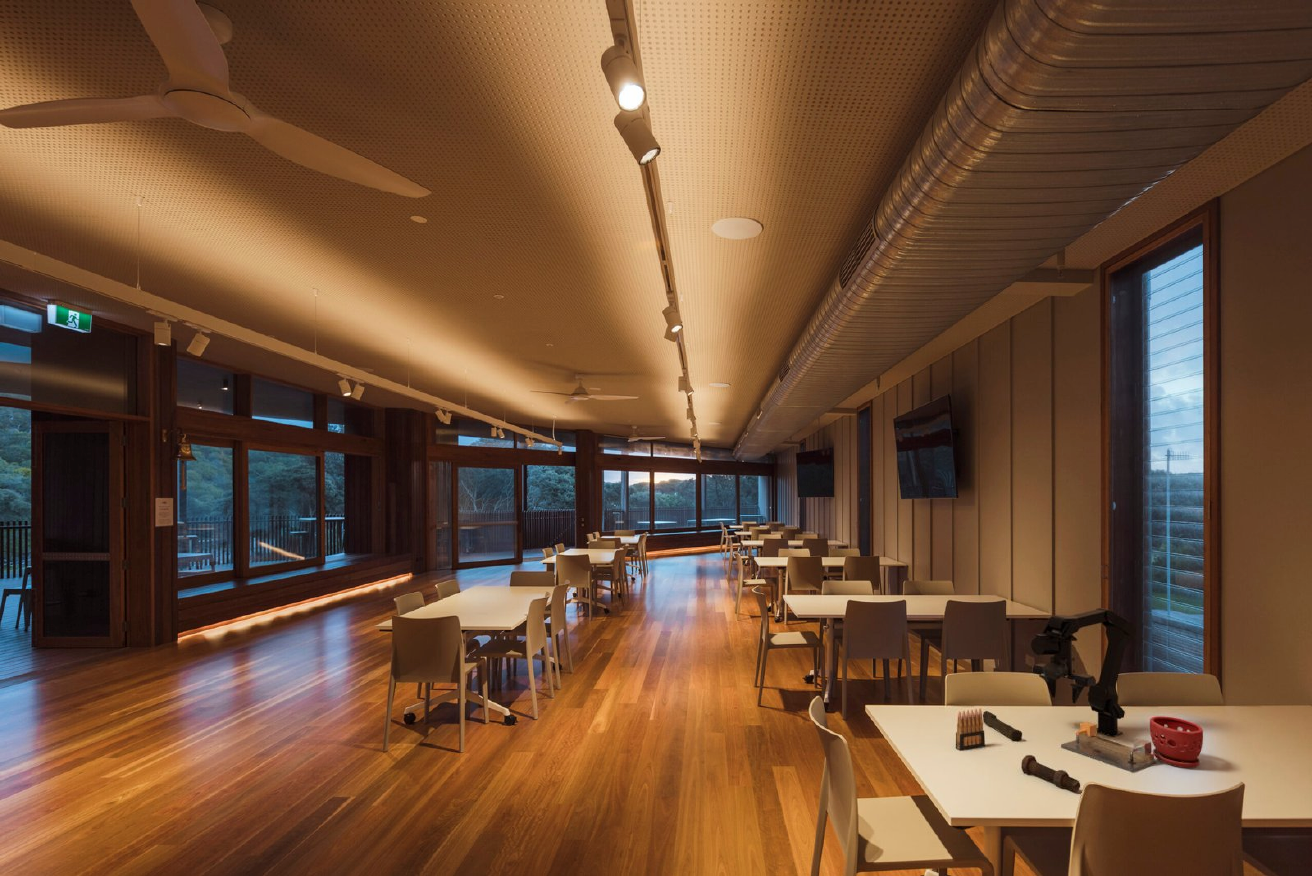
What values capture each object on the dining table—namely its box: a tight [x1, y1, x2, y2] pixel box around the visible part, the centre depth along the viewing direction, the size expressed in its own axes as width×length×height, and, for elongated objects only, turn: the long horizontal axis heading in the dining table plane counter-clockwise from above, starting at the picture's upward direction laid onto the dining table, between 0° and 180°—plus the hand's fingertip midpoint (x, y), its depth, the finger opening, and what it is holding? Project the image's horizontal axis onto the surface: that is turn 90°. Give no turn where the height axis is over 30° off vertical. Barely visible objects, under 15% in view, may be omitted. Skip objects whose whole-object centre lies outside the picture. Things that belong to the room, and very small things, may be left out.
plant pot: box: [1149, 715, 1204, 769], centre depth 209 cm, size 13×13×12 cm
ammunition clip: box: [955, 708, 986, 752], centre depth 218 cm, size 11×2×12 cm, turn 112°
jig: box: [1060, 734, 1157, 773], centre depth 213 cm, size 14×21×6 cm, turn 29°
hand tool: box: [982, 710, 1023, 743], centre depth 232 cm, size 19×4×5 cm, turn 4°
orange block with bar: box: [1075, 721, 1098, 744], centre depth 221 cm, size 9×3×5 cm, turn 119°
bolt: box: [1020, 754, 1081, 792], centre depth 193 cm, size 6×5×15 cm
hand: (1063, 700), depth 230 cm, fingers open, 7 cm apart
